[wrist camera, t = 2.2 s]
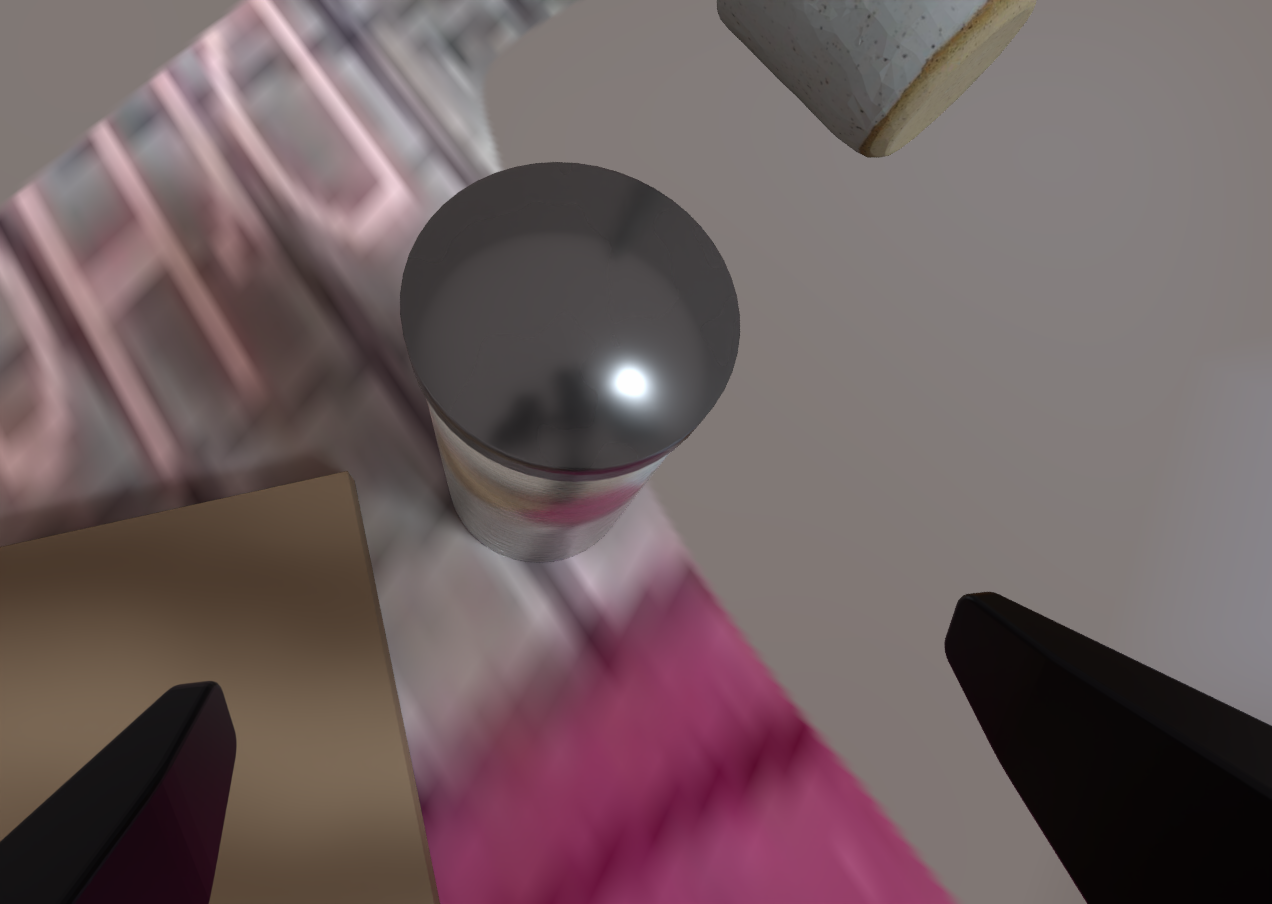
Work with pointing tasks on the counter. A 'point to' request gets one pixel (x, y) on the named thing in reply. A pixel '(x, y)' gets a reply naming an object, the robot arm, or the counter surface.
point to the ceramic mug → (876, 57)
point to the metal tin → (563, 348)
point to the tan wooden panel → (226, 682)
